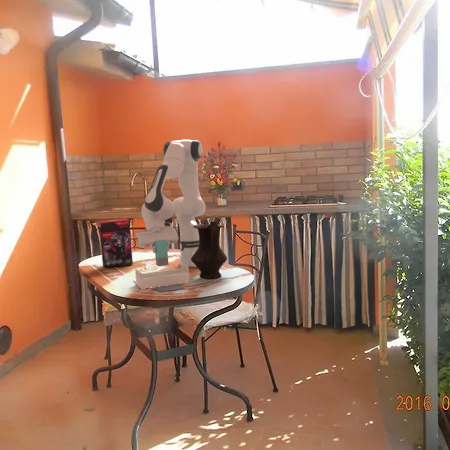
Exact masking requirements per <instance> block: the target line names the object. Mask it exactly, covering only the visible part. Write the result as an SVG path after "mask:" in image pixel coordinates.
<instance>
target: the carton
mask: <svg viewBox="0 0 450 450" xmlns="http://www.w3.org/2000/svg"><path fill="white" fill-rule="evenodd" d="M179 263H180V262H179ZM180 264H181V266H180V268H175V269H174V268H173V269H167V270H159V271H150V272H144V273H142V272H141V271H140V270H139V268H137V267H135V269H134V271H135V272H134V274H135V280H133V283H134V284H135V285H137V287H138V288H140V289H141V290H146V288H149V289H152V288H151V287H159V286H166V285H174V284H179V285H184V284H183V283H185V284H190V268H189V267H190V266H186V265H184V264H183V263H180Z"/></svg>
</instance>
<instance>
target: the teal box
mask: <svg viewBox="0 0 450 450" xmlns="http://www.w3.org/2000/svg"><path fill="white" fill-rule="evenodd" d="M154 245H155V246H154V248H156V250H157V252H156V253H154V255H155V265H156V266H157V267H165V266H169V255H168V254H169V251H167V241H166V240H158V241H155V243H154Z"/></svg>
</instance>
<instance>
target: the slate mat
mask: <svg viewBox="0 0 450 450" xmlns="http://www.w3.org/2000/svg"><path fill="white" fill-rule="evenodd" d="M153 289H155V290H156V289H157V290H158V291H159V292H160V293H163V292H162V291H167V292H170V291H169V290H174V291H176V290H175V289H181V290H185V287H183V286H182V284H174V285H167V286H160V287H154V288H153ZM157 290H156V291H157ZM158 291H157V292H158ZM159 292H158V293H159Z"/></svg>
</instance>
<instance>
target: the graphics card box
mask: <svg viewBox="0 0 450 450" xmlns="http://www.w3.org/2000/svg"><path fill="white" fill-rule="evenodd" d="M98 228H99V239H100V240H99V241H100V249H101V251H100V252H101V260H102V267H103V268H104V269H108V268H114V267H115V268H116V267H123V266H129V265H133V264H134V263H133V262H134V261H133V251H132V250H133V249H132V239H131V229H130V219H128V218H120V219H108V220H99V221H98Z"/></svg>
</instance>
